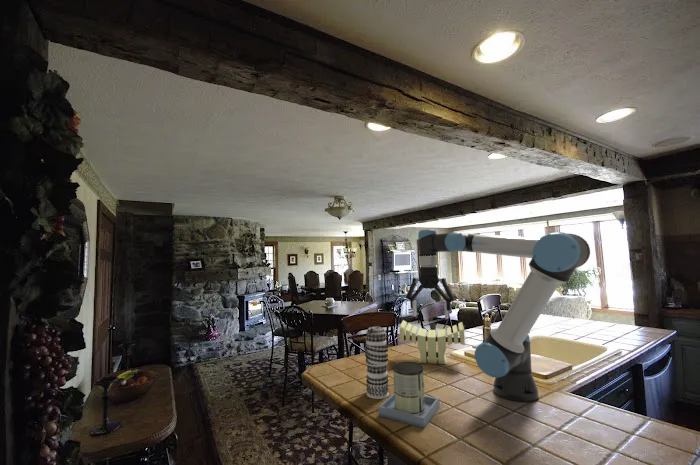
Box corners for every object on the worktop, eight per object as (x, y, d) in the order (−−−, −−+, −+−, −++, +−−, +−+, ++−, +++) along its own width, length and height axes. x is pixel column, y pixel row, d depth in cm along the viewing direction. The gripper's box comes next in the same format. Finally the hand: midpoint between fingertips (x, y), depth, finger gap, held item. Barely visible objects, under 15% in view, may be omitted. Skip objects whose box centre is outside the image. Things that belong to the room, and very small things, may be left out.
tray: (439, 407, 113) (439, 398, 113) (424, 428, 100) (423, 418, 100) (398, 397, 121) (397, 389, 121) (378, 416, 108) (378, 406, 108)
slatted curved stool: (400, 363, 158) (399, 326, 160) (404, 353, 174) (403, 320, 175) (465, 367, 150) (464, 328, 152) (463, 357, 166) (461, 321, 167)
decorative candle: (364, 398, 121) (362, 330, 122) (366, 388, 130) (365, 325, 132) (389, 399, 119) (387, 330, 121) (389, 389, 129) (387, 325, 130)
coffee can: (391, 402, 115) (390, 361, 116) (420, 401, 115) (419, 360, 116) (397, 417, 105) (395, 372, 106) (428, 415, 105) (427, 371, 106)
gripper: (460, 265, 134) (463, 318, 132) (404, 266, 147) (405, 313, 145) (456, 266, 128) (459, 321, 126) (397, 266, 140) (399, 316, 139)
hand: (430, 317), depth 136 cm, fingers open, 13 cm apart
